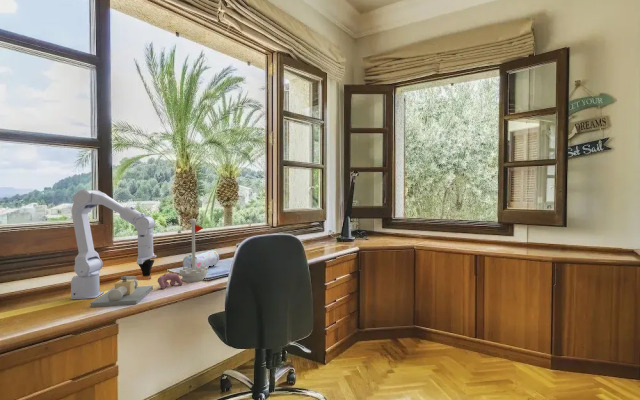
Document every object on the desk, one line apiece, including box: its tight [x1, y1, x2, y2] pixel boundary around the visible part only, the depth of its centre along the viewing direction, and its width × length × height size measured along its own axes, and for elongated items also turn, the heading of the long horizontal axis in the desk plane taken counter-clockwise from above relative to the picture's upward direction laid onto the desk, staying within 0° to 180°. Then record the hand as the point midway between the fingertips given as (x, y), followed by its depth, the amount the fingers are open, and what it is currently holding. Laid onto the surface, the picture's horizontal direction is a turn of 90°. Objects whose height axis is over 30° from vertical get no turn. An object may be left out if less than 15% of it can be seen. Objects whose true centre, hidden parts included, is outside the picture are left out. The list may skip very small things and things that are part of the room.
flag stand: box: [179, 218, 209, 283], centre depth 176 cm, size 13×13×30 cm
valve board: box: [89, 279, 154, 308], centre depth 145 cm, size 16×22×7 cm
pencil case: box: [182, 249, 220, 269], centre depth 200 cm, size 21×9×10 cm, turn 152°
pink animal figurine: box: [157, 272, 183, 290], centre depth 162 cm, size 10×5×7 cm, turn 141°
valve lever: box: [120, 274, 152, 281], centre depth 146 cm, size 12×3×2 cm, turn 88°
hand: (146, 278), depth 148 cm, fingers closed, pressing on valve lever
